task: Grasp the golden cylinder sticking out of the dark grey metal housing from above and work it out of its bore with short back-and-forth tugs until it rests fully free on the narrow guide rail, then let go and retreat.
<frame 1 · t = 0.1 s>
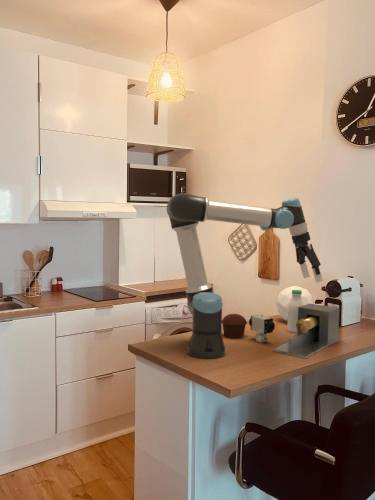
hand: (313, 279, 193), 28 cm above the worktop, tool tilted 20°, fingers open, 13 cm apart
housing: (317, 340, 197), on the worktop
muffin: (233, 336, 203), on the worktop
golden cylinder: (310, 323, 190), point 9 cm above the worktop, slide at 0.0 cm
milk bottle: (295, 331, 214), on the worktop
pneumatic valve: (261, 341, 195), on the worktop
ball: (294, 322, 233), on the worktop
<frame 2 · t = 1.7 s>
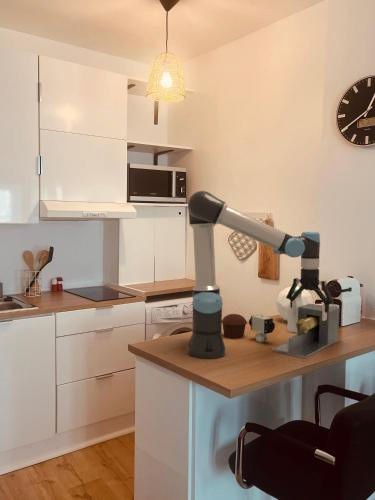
hand: (308, 317, 188), 12 cm above the worktop, tool pointing down, fingers open, 13 cm apart
nothing on the worktop moved.
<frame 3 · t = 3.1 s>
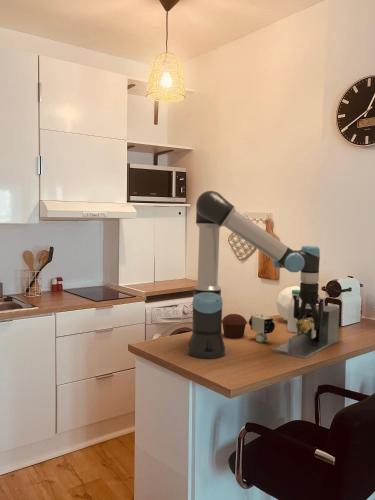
hand: (307, 336, 189), 4 cm above the worktop, tool pointing down, fingers closed on golden cylinder, 5 cm apart
golden cylinder: (310, 323, 190), point 9 cm above the worktop, slide at 0.0 cm, touching gripper
everything else where it was.
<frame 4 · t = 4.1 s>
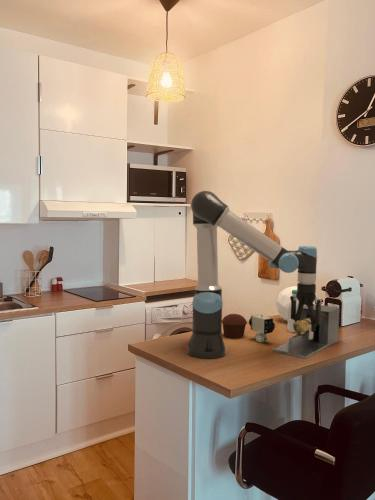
hand: (304, 337, 186), 4 cm above the worktop, tool pointing down, fingers closed on golden cylinder, 5 cm apart
golden cylinder: (307, 324, 188), point 9 cm above the worktop, slide at 2.8 cm, touching gripper
everything else where it was.
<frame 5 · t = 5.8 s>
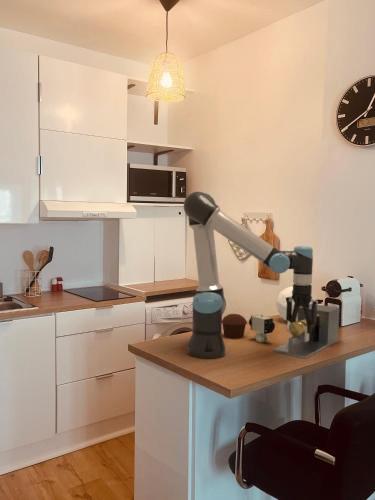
hand: (300, 339, 183), 4 cm above the worktop, tool pointing down, fingers closed on golden cylinder, 5 cm apart
golden cylinder: (303, 325, 185), point 9 cm above the worktop, slide at 6.9 cm, touching gripper
everything else where it was.
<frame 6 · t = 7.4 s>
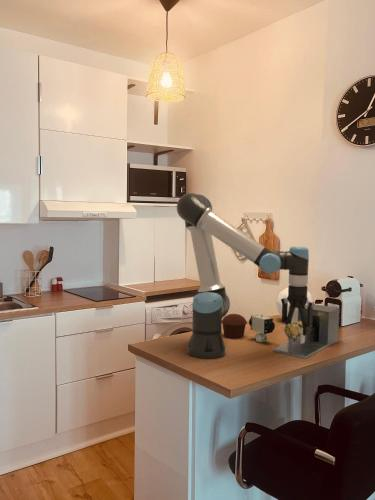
hand: (296, 341, 180), 4 cm above the worktop, tool pointing down, fingers closed on golden cylinder, 5 cm apart
golden cylinder: (299, 327, 182), point 9 cm above the worktop, slide at 10.9 cm, touching gripper
everything else where it was.
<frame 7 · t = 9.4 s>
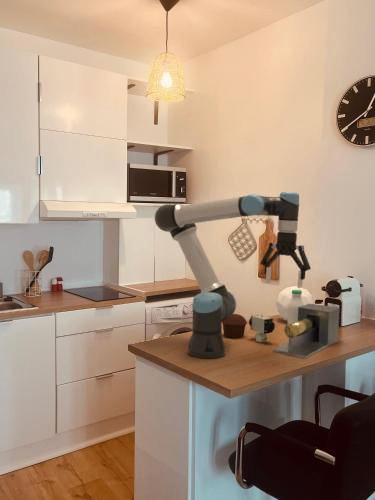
hand: (283, 285, 175), 28 cm above the worktop, tool pointing down, fingers open, 13 cm apart
golden cylinder: (299, 327, 182), point 10 cm above the worktop, slide at 10.9 cm
everything else where it was.
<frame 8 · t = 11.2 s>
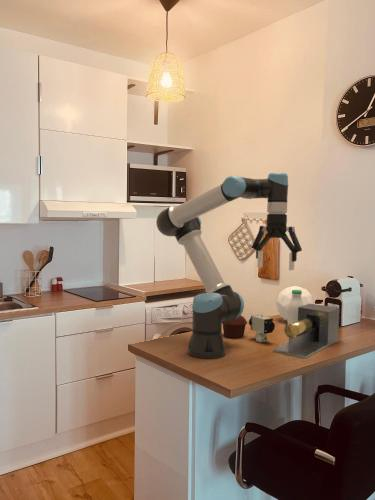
hand: (275, 268, 171), 35 cm above the worktop, tool pointing down, fingers open, 13 cm apart
nothing on the worktop moved.
at the end: golden cylinder slide at 10.9 cm; the gripper is holding nothing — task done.
